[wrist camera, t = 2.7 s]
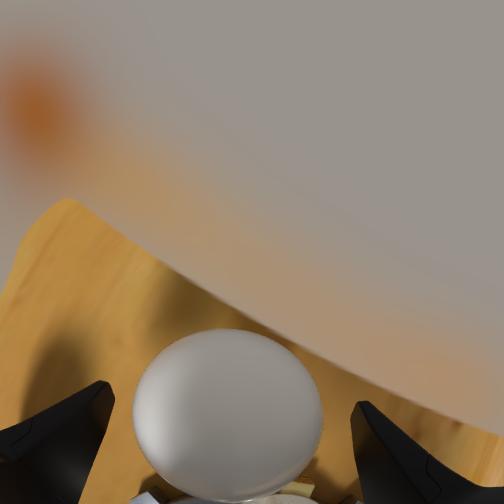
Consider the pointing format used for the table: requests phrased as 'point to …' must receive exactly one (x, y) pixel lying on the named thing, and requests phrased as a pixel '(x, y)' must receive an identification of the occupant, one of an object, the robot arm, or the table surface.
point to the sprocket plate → (286, 500)
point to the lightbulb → (227, 415)
